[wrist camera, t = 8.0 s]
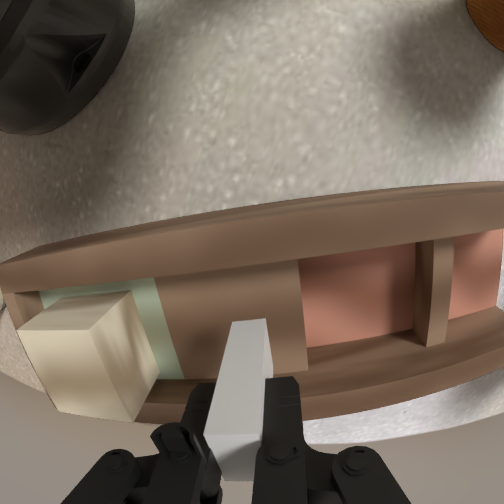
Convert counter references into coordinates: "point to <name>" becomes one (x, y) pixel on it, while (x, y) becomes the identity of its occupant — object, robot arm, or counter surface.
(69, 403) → the birch block
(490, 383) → the counter surface
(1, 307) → the aerosol can
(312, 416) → the box
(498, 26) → the disposable coffee cup
